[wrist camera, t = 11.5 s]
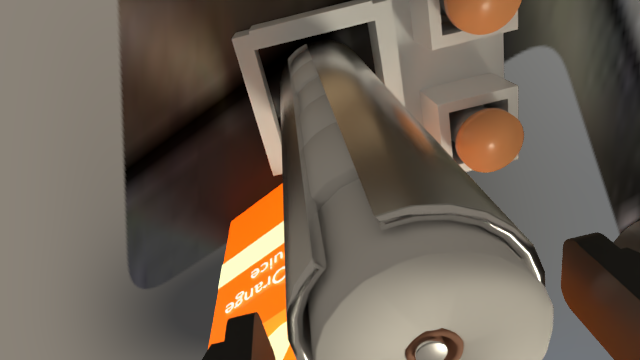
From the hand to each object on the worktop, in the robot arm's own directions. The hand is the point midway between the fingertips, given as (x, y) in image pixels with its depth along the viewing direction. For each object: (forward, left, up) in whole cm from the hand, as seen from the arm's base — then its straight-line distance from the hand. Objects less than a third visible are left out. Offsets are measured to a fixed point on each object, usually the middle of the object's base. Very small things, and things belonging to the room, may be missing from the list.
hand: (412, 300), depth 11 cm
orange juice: (-12, +5, -24) cm, 27 cm away
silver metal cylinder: (0, 0, -24) cm, 24 cm away
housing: (0, -4, -23) cm, 24 cm away
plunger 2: (-4, -9, -21) cm, 24 cm away
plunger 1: (+4, -9, -21) cm, 24 cm away
